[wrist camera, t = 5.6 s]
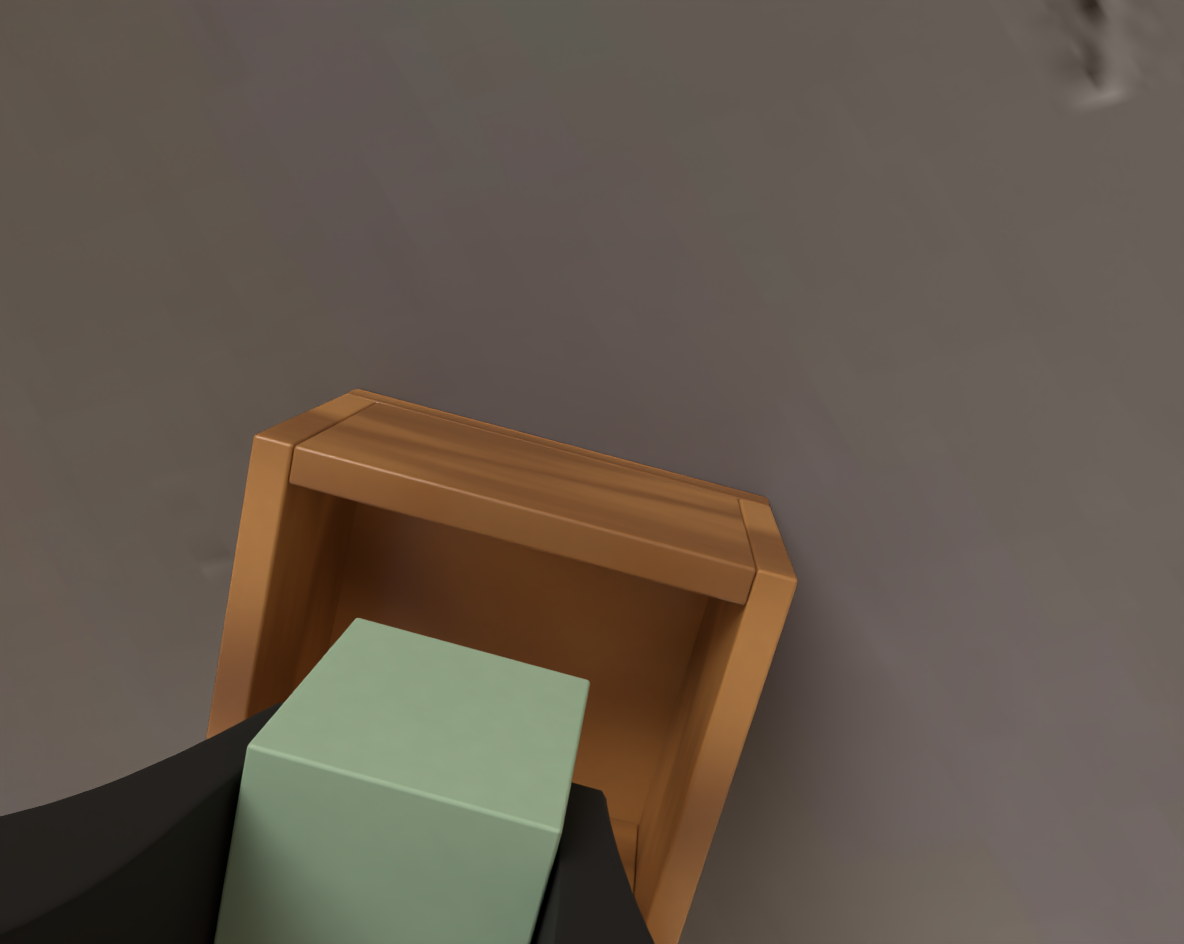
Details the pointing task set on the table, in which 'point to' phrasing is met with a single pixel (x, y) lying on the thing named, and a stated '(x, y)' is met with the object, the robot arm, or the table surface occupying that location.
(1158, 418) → the table surface
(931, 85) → the table surface
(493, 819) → the sage block
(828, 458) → the table surface
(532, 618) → the case
